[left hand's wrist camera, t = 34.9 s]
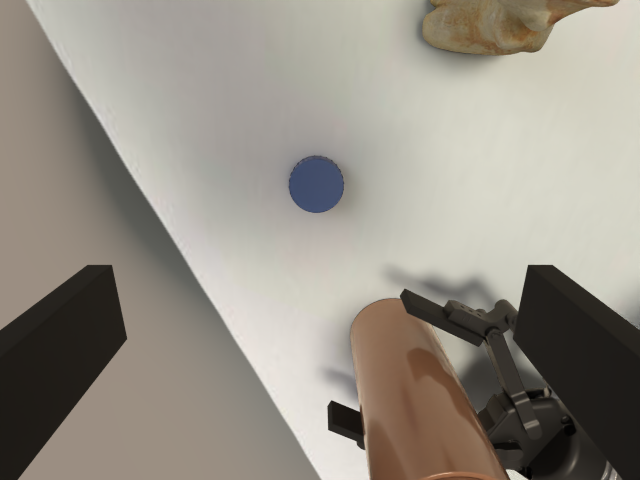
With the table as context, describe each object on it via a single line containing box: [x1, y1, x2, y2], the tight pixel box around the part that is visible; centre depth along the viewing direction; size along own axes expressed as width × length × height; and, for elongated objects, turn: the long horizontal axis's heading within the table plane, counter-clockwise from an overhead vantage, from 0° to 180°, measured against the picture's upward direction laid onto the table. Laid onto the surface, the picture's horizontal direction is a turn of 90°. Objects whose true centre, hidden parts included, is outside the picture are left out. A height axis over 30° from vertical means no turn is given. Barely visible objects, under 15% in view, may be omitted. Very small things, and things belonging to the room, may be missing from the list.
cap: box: [289, 156, 344, 213], centre depth 33 cm, size 4×4×2 cm
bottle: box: [350, 299, 510, 480], centre depth 28 cm, size 8×8×24 cm
